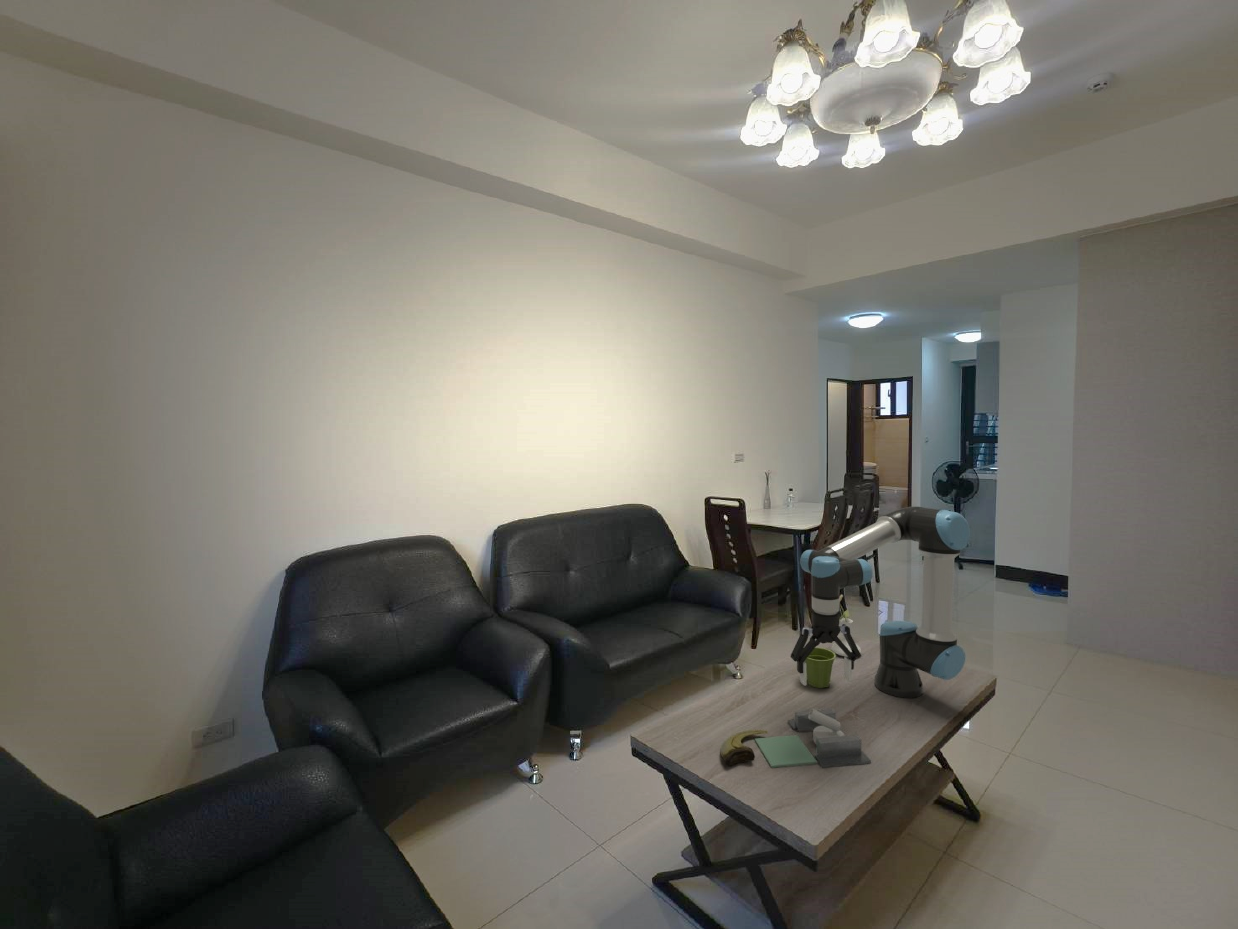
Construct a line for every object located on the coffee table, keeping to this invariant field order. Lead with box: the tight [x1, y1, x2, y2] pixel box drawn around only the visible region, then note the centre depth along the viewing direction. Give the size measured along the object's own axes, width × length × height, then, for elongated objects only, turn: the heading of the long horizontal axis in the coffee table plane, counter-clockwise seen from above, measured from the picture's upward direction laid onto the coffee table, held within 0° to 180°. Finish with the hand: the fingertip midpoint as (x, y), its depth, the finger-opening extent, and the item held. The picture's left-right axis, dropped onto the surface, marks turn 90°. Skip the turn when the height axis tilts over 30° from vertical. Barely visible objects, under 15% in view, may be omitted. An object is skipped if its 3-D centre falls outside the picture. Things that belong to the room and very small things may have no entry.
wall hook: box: [808, 708, 846, 745], centre depth 158 cm, size 9×10×10 cm
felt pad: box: [754, 734, 818, 769], centre depth 154 cm, size 13×13×1 cm
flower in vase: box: [830, 594, 863, 657], centre depth 217 cm, size 13×11×25 cm
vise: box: [787, 708, 872, 769], centre depth 158 cm, size 14×23×5 cm, turn 6°
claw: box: [720, 729, 768, 766], centre depth 156 cm, size 20×10×3 cm, turn 152°
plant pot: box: [804, 646, 837, 689], centre depth 193 cm, size 12×12×11 cm
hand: (825, 681), depth 157 cm, fingers open, 13 cm apart
